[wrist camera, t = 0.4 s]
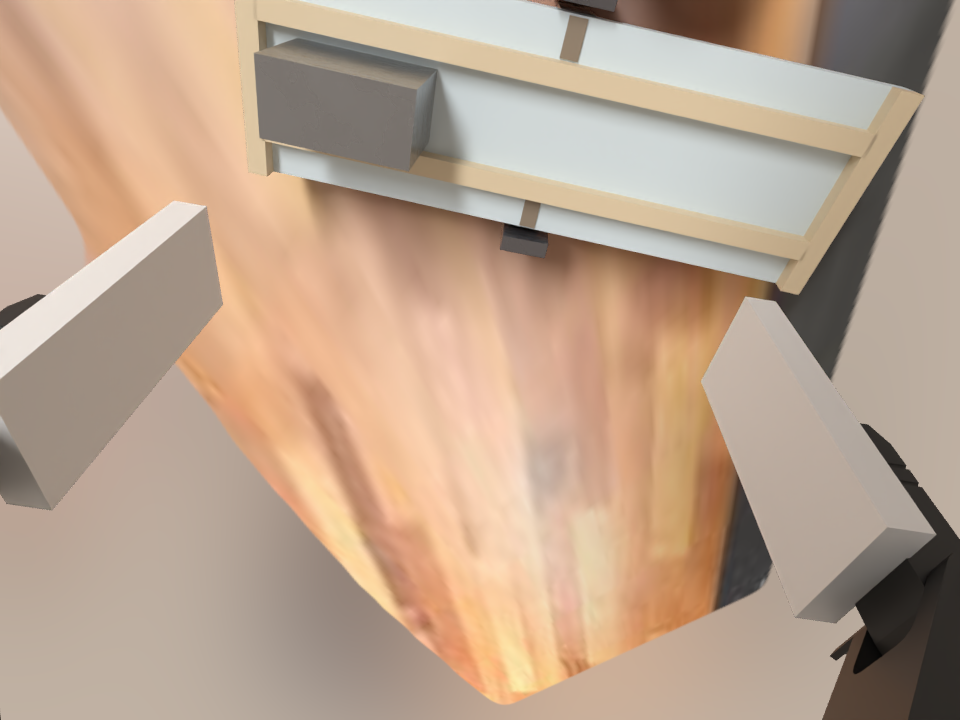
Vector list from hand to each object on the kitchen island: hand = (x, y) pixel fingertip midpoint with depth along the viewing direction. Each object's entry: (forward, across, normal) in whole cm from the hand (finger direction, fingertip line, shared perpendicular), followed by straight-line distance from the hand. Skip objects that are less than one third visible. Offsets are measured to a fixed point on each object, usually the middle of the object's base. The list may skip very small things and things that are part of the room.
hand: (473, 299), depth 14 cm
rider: (+22, -8, -1) cm, 24 cm away
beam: (+23, +3, -1) cm, 23 cm away
